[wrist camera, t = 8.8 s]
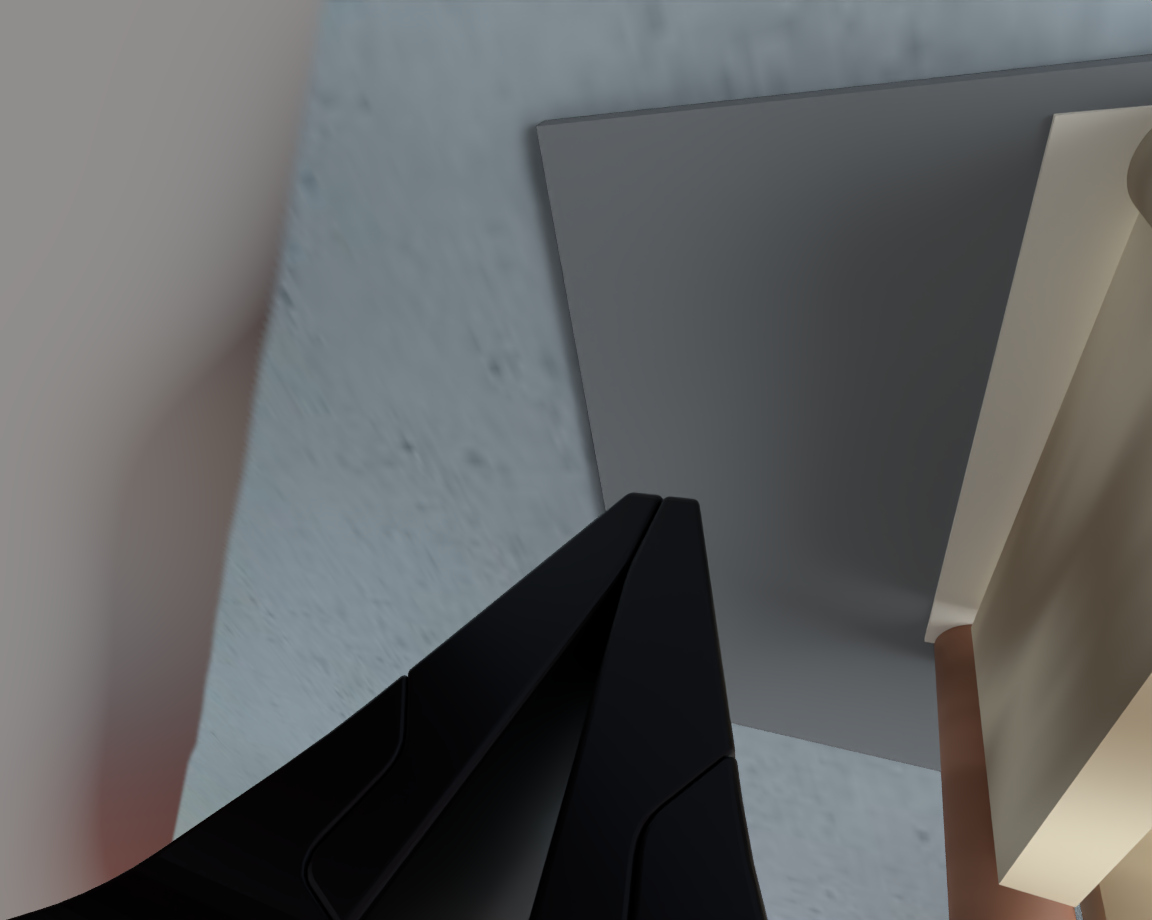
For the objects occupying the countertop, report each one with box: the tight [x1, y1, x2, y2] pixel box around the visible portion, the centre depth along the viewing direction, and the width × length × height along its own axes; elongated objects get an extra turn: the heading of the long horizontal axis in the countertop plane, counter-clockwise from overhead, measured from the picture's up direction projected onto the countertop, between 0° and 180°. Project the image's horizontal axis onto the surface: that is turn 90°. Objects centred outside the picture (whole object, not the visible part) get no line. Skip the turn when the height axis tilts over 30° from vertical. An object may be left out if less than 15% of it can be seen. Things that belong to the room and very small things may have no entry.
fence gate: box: [971, 128, 1152, 907], centre depth 8 cm, size 10×2×6 cm, turn 7°
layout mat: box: [536, 54, 1152, 771], centre depth 13 cm, size 20×17×1 cm
